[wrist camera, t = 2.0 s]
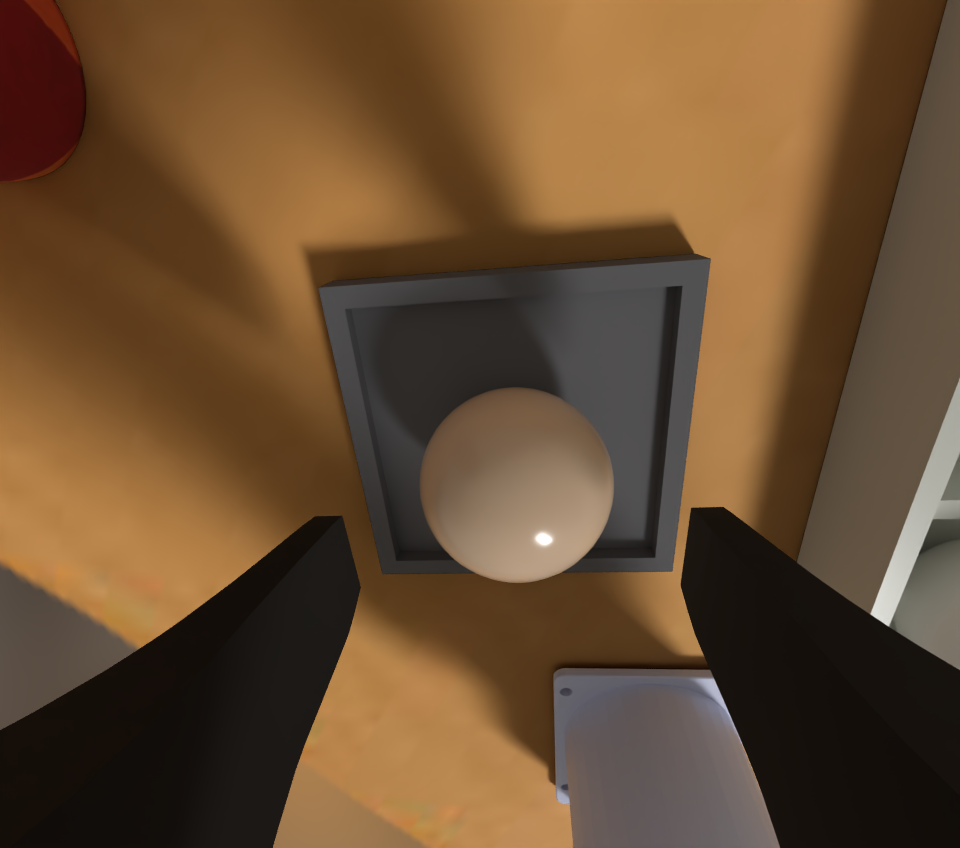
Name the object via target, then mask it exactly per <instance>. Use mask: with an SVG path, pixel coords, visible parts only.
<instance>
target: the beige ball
mask: <svg viewBox="0 0 960 848" xmlns="http://www.w3.org/2000/svg"><path fill="white" fill-rule="evenodd" d="M613 495H614V475H613V470H612V465H611V460H610V456H609V454H608V451H607V448H606V446H605V444H604V442H603V440H602V438H601V436H600V435H599V433H598V431H597V430H596V428H595V427H594V426H593V425H592V423H591V422H590V421H589V420H588V419H587V418H586V417H585V416H584V415H583V414H582V413H581V412H580V411H579V410H578V409H577V408H575V407H574V406H573V405H571V404H570V403H568V402H566V401H565V400H563V399H561V398H559V397H557V396H555V395H552V394H550V393H547V392H544V391H540V390H537V389H531V388H524V387H509V388H500V389H495V390H491V391H488V392H485V393H482V394H480V395H477V396H475V397H473V398H471V399H469V400H467V401H465V402H464V403H462V404H461V405H460V406H458V407H457V408H455V409H454V410H453V411H452V412H451V413H450V414H449V415H448V416H447V417H446V418H445V419H444V420H443V421H442V423H441V424H440V425H439V426H438V428H437V429H436V431H435V432H434V434H433V436H432V437H431V439H430V441H429V443H428V445H427V448H426V450H425V453H424V457H423V461H422V466H421V470H420V499H421V503H422V507H423V511H424V515H425V518H426V520H427V523H428V525H429V527H430V529H431V531H432V533H433V534H434V536H435V538H436V540H437V541H438V542H439V544H440V545H441V546H442V547H443V549H444V550H445V551H446V552H447V553H448V554H449V555H450V556H451V557H452V558H453V559H454V560H456V561H457V562H458V563H460V564H461V565H462V566H464V567H466V568H467V569H469V570H471V571H473V572H475V573H477V574H479V575H481V576H484V577H487V578H489V579H493V580H497V581H502V582H510V583H524V582H533V581H538V580H542V579H546V578H549V577H551V576H554V575H556V574H559V573H561V572H563V571H565V570H567V569H568V568H570V567H571V566H573V565H574V564H576V563H577V562H578V561H579V560H580V559H581V558H582V557H583V556H585V555H586V554H587V553H588V552H589V550H590V549H591V548H592V547H593V546H594V544H595V543H596V541H597V540H598V538H599V537H600V535H601V534H602V532H603V530H604V528H605V526H606V524H607V521H608V518H609V514H610V511H611V507H612V503H613Z"/></svg>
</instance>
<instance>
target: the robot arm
mask: <svg viewBox="0 0 960 848" xmlns="http://www.w3.org/2000/svg"><path fill="white" fill-rule="evenodd" d="M360 588H361V587H360V583H359V579H358V575H357V571H356V567H355V563H354V560H353V556H352V552H351V548H350V544H349V540H348V536H347V532H346V528H345V525H344V521H343V517H342V516H317V517H314V518H312V519H311V520H310V521H308V522H307V523H306V524H304V525H303V526H302V527H300V528H299V529H298V530H297V531H295V532H294V533H293V534H292V535H290V536H289V537H288V538H287V539H285V540H284V541H283V542H282V543H281V544H279V545H278V546H277V547H276V548H274V549H273V550H272V551H271V552H269V553H268V554H267V555H266V556H265V557H263V558H262V559H261V560H260V561H258V562H257V563H256V564H255V565H253V566H252V567H251V568H250V569H248V570H247V571H246V572H245V573H243V574H242V575H241V576H240V577H238V578H237V579H236V580H235V581H233V582H232V583H231V584H229V585H228V586H227V587H225V588H224V589H223V590H221V591H220V592H219V593H217V594H216V595H215V596H213V597H212V598H211V599H209V600H208V601H207V602H205V603H204V604H203V605H201V606H200V607H199V608H197V609H196V610H195V611H193V612H192V613H191V614H189V615H188V616H187V617H185V618H184V619H183V620H181V621H180V622H178V623H177V624H176V625H174V626H173V627H171V628H170V629H168V630H167V631H165V632H164V633H163V634H161V635H160V636H158V637H157V638H155V639H154V640H152V641H151V642H149V643H148V644H146V645H145V646H143V647H141V648H140V649H138V650H137V651H136V652H134V653H132V654H131V655H129V656H128V657H126V658H124V659H123V660H121V661H120V662H118V663H117V664H115V665H113V666H112V667H110V668H109V669H107V670H106V671H104V672H102V673H100V674H99V675H97V676H95V677H94V678H92V679H90V680H89V681H87V682H85V683H84V684H81V685H80V686H78V687H76V688H75V689H73V690H71V691H69V692H68V693H66V694H64V695H63V696H61V697H59V698H57V699H56V700H54V701H52V702H51V703H49V704H47V705H45V706H44V707H42V708H40V709H39V710H37V711H35V712H33V713H31V714H30V715H28V716H26V717H24V718H22V719H20V720H19V721H17V722H15V723H13V724H11V725H9V726H7V727H6V728H3V729H2V730H0V848H273V844H274V841H275V837H276V834H277V830H278V827H279V823H280V820H281V817H282V814H283V810H284V807H285V804H286V800H287V797H288V793H289V790H290V787H291V784H292V780H293V777H294V774H295V770H296V768H297V765H298V762H299V759H300V756H301V754H302V751H303V748H304V745H305V742H306V740H307V737H308V735H309V732H310V730H311V727H312V725H313V722H314V720H315V717H316V715H317V713H318V710H319V708H320V705H321V703H322V700H323V698H324V695H325V693H326V690H327V688H328V685H329V683H330V680H331V678H332V675H333V673H334V670H335V668H336V665H337V663H338V660H339V657H340V655H341V652H342V650H343V647H344V645H345V642H346V639H347V637H348V634H349V631H350V627H351V624H352V620H353V616H354V613H355V609H356V605H357V601H358V596H359V592H360ZM681 588H682V592H683V595H684V599H685V603H686V606H687V610H688V613H689V616H690V620H691V623H692V626H693V629H694V632H695V635H696V638H697V640H698V642H699V645H700V647H701V650H702V652H703V654H704V657H705V659H706V661H707V664H708V666H709V668H710V670H687V669H601V668H562V669H559V670H557V671H556V672H555V673H554V675H553V687H554V732H555V777H556V798H557V800H558V801H559V802H560V803H563V804H570V813H571V825H572V837H573V848H960V670H959V669H957V668H956V667H954V666H952V665H951V664H949V663H947V662H946V661H944V660H942V659H941V658H939V657H937V656H936V655H934V654H932V653H931V652H929V651H927V650H925V649H924V648H922V647H920V646H919V645H917V644H915V643H914V642H912V641H911V640H909V639H908V638H906V637H904V636H903V635H901V634H900V633H898V632H896V631H895V630H893V629H892V628H890V627H889V626H887V625H886V624H884V623H883V622H881V621H880V620H878V619H877V618H875V617H874V616H872V615H871V614H869V613H868V612H866V611H865V610H863V609H862V608H860V607H859V606H857V605H856V604H854V603H853V602H851V601H850V600H848V599H847V598H845V597H844V596H843V595H841V594H840V593H838V592H837V591H835V590H834V589H833V588H831V587H830V586H828V585H827V584H826V583H824V582H823V581H821V580H820V579H819V578H817V577H816V576H814V575H813V574H812V573H810V572H809V571H808V570H806V569H805V568H804V567H802V566H801V565H800V564H798V563H797V562H796V561H794V560H793V559H792V558H790V557H789V556H788V555H786V554H785V553H784V552H782V551H781V550H780V549H778V548H777V547H776V546H774V545H773V544H772V543H770V542H769V541H768V540H767V539H765V538H764V537H763V536H761V535H760V534H759V533H757V532H756V531H755V530H754V529H752V528H751V527H750V526H748V525H747V524H746V523H744V522H743V521H742V520H740V519H739V518H738V517H736V516H735V515H734V514H732V513H731V512H730V511H728V510H727V509H725V508H724V507H705V508H691V513H690V520H689V527H688V535H687V542H686V549H685V557H684V564H683V571H682V578H681ZM742 744H743V746H744V748H743V746H742ZM744 749H745V751H746V753H747V756H748V758H749V761H750V763H751V766H752V768H753V771H754V773H755V776H756V778H755V776H754V773H753V771H752V768H751V766H750V763H749V761H748V758H747V756H746V753H745V751H744ZM756 779H757V781H758V783H757V781H756ZM758 784H759V786H758ZM759 787H760V788H759ZM760 789H761V791H760ZM761 792H762V793H761ZM762 795H763V796H762Z"/></svg>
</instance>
